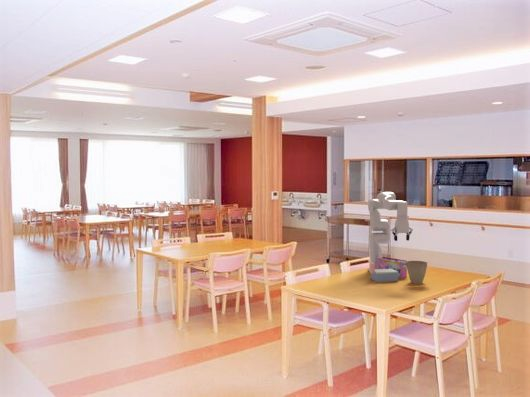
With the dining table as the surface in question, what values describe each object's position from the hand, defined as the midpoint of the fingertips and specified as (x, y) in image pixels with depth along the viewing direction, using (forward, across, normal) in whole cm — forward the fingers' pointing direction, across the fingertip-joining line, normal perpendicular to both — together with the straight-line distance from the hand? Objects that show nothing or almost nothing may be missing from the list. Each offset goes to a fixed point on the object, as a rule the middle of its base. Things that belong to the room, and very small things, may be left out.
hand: (401, 240), depth 377 cm
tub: (+31, +11, -5) cm, 34 cm away
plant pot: (+31, -8, +8) cm, 33 cm away
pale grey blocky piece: (+25, +13, -5) cm, 28 cm away
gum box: (+32, -3, -21) cm, 38 cm away
